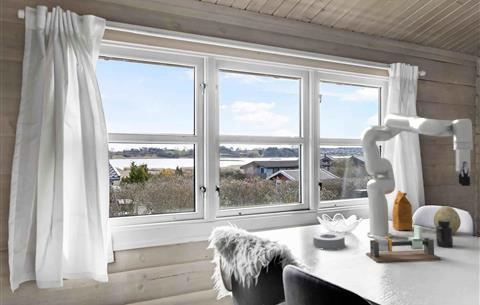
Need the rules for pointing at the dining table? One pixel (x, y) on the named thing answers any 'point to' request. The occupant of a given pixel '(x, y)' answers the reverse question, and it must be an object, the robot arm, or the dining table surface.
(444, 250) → the dining table surface
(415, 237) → the mint green stepped block
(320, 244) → the tape roll
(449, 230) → the supplement bottle
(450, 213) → the fossilized egg
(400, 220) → the coffee package
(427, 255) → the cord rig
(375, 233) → the robot arm
